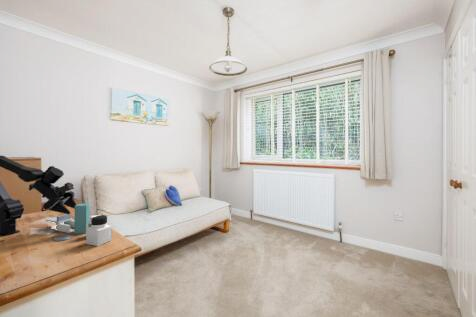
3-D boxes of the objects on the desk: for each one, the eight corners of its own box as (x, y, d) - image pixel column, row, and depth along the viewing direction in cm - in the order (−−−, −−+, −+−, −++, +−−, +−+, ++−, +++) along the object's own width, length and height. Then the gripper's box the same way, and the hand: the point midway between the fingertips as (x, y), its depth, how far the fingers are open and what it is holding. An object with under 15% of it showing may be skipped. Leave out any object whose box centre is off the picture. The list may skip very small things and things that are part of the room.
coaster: (49, 239, 100) (49, 238, 100) (65, 234, 107) (65, 233, 107) (60, 242, 98) (60, 241, 98) (76, 236, 105) (76, 235, 105)
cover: (45, 221, 115) (45, 215, 115) (60, 217, 121) (60, 211, 121) (58, 223, 112) (58, 217, 111) (72, 219, 118) (72, 213, 118)
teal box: (74, 234, 108) (74, 205, 108) (78, 230, 113) (78, 203, 112) (86, 233, 109) (86, 205, 109) (89, 229, 114) (90, 203, 114)
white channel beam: (50, 229, 113) (50, 222, 113) (65, 225, 120) (65, 218, 120) (68, 232, 109) (68, 225, 109) (82, 228, 116) (82, 221, 116)
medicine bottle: (111, 240, 101) (112, 215, 101) (97, 246, 95) (97, 219, 94) (100, 238, 104) (100, 213, 103) (85, 244, 97) (86, 217, 97)
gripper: (51, 180, 99) (79, 203, 102) (70, 176, 117) (93, 195, 120) (29, 198, 97) (59, 221, 100) (52, 191, 115) (76, 210, 118)
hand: (73, 211), depth 110 cm, fingers open, 9 cm apart
